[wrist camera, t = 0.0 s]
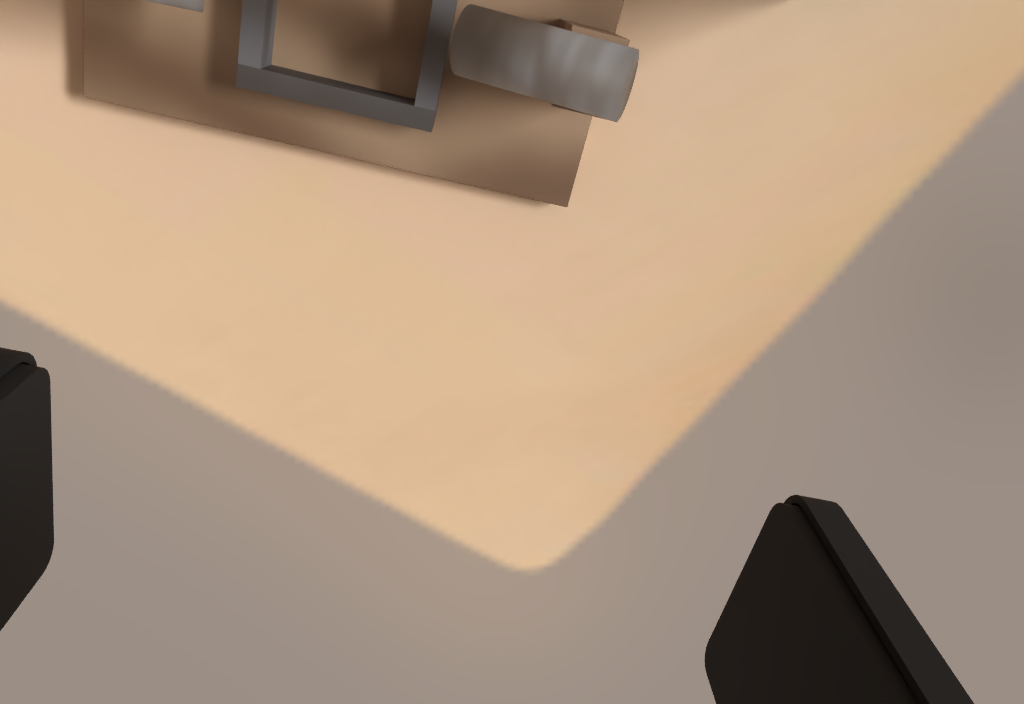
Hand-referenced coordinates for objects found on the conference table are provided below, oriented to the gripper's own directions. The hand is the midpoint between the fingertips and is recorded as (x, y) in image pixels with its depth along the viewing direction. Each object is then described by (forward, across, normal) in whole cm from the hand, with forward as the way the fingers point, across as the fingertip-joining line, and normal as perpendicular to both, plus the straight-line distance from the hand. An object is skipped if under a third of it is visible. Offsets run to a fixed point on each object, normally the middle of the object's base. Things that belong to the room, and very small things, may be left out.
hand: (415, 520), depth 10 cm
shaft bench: (+32, +6, -4) cm, 33 cm away
